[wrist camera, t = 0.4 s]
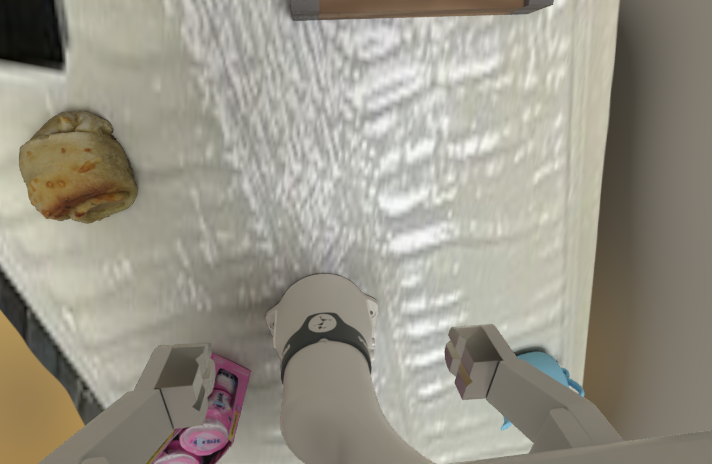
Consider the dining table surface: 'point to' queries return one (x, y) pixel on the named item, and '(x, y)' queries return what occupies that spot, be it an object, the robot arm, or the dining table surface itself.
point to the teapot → (551, 369)
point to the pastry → (77, 169)
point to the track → (409, 8)
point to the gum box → (209, 421)
